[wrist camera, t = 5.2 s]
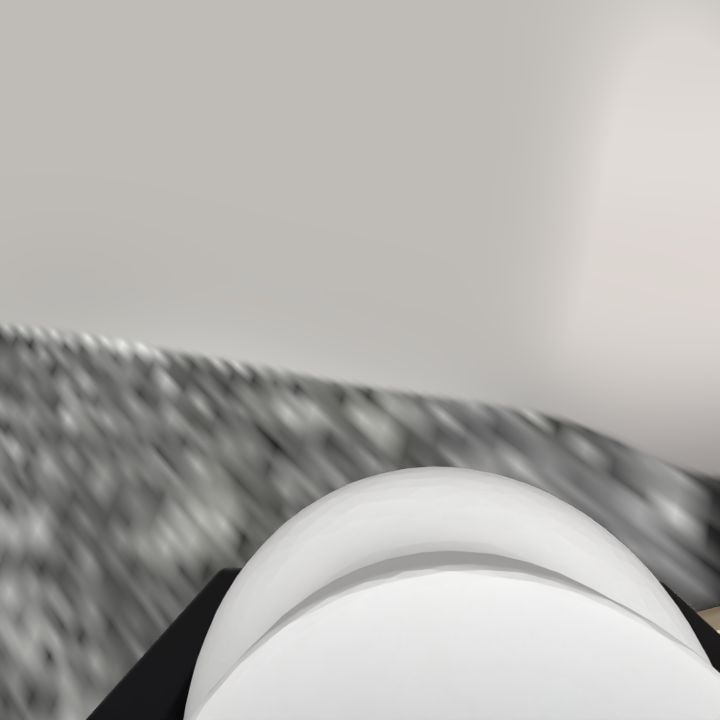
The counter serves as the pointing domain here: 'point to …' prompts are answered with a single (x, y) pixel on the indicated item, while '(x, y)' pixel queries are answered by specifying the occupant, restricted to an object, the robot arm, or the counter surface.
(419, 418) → the counter surface
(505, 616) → the supplement bottle
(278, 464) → the counter surface
